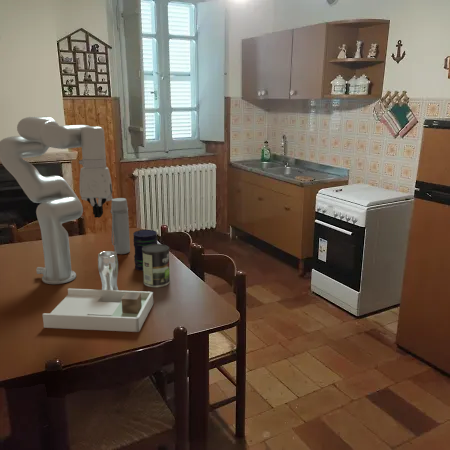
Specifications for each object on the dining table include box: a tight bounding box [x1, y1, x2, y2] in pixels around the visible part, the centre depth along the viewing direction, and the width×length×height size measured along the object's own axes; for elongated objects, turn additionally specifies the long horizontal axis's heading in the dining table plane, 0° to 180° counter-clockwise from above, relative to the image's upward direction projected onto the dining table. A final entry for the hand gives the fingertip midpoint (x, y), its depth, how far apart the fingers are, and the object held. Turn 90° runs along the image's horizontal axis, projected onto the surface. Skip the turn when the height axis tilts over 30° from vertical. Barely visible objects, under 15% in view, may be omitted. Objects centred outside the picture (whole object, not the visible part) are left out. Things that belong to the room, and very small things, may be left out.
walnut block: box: [122, 292, 142, 314], centre depth 144 cm, size 5×5×5 cm
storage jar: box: [132, 229, 159, 272], centre depth 187 cm, size 10×10×15 cm
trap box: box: [42, 287, 155, 333], centre depth 146 cm, size 30×20×4 cm, turn 86°
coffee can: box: [142, 243, 171, 288], centre depth 171 cm, size 10×10×14 cm
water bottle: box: [110, 197, 131, 255], centre depth 202 cm, size 9×8×25 cm
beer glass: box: [97, 250, 119, 290], centre depth 161 cm, size 7×7×15 cm
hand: (98, 216), depth 155 cm, fingers closed
